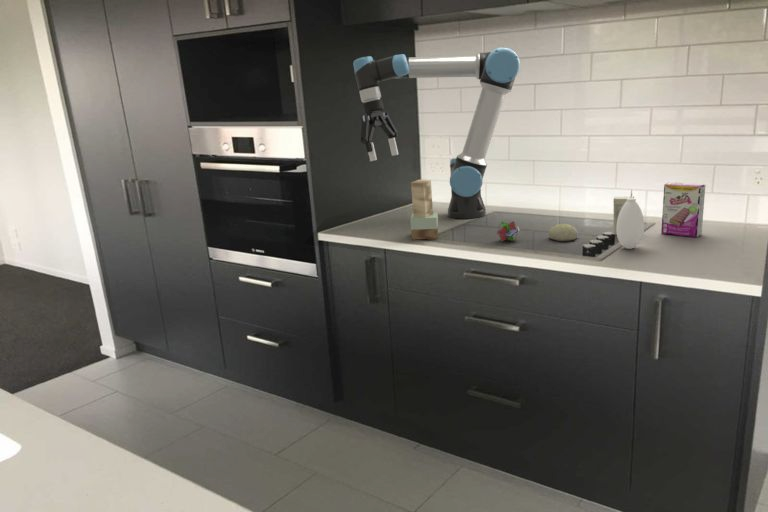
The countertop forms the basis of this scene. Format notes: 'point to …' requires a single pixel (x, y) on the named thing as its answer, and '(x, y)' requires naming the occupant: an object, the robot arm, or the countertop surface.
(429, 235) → the tower base block
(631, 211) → the white air blower bulb
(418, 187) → the tall oak block
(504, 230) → the geometric puzzle
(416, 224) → the tower top block
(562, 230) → the sea urchin shell
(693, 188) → the candy bar box
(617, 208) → the skincare box
